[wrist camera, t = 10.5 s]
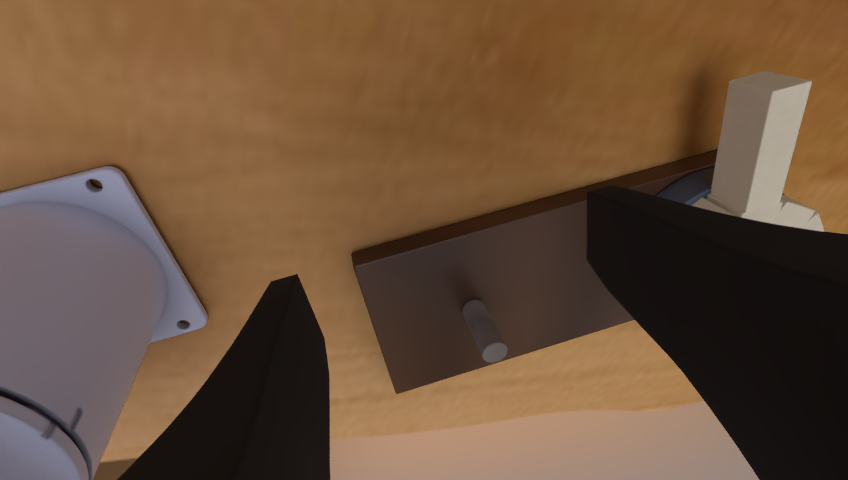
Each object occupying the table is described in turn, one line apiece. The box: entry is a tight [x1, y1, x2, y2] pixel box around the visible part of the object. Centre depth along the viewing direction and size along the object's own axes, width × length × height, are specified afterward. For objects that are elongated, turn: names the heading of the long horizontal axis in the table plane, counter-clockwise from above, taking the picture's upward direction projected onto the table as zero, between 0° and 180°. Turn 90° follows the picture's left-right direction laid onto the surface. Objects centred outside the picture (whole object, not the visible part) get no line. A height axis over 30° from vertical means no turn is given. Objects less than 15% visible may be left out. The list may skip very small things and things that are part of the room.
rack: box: [351, 150, 785, 394], centre depth 22 cm, size 22×9×6 cm, turn 101°
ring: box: [691, 71, 825, 232], centre depth 21 cm, size 8×13×2 cm, turn 11°
